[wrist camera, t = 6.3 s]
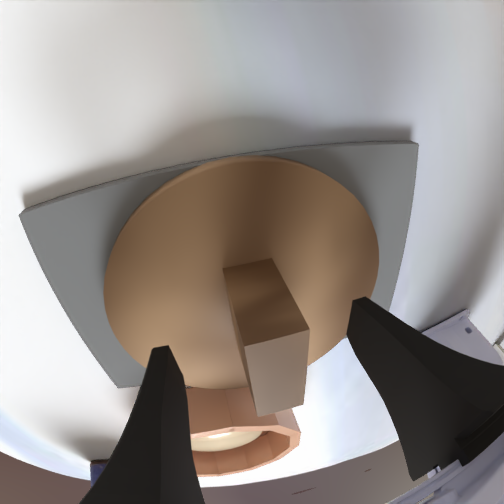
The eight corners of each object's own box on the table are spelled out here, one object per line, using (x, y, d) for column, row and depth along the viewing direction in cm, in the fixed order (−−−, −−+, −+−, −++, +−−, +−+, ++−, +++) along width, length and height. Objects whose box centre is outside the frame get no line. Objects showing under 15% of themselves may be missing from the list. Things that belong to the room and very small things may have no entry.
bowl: (286, 366, 19) (303, 408, 16) (286, 429, 25) (297, 458, 22) (118, 397, 17) (117, 440, 14) (170, 451, 23) (174, 481, 20)
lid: (379, 142, 11) (467, 181, 7) (352, 343, 18) (386, 400, 14) (64, 196, 9) (5, 270, 5) (158, 390, 16) (164, 461, 12)
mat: (410, 140, 12) (418, 143, 11) (380, 318, 18) (384, 323, 18) (24, 209, 9) (18, 215, 9) (118, 380, 16) (118, 388, 15)
